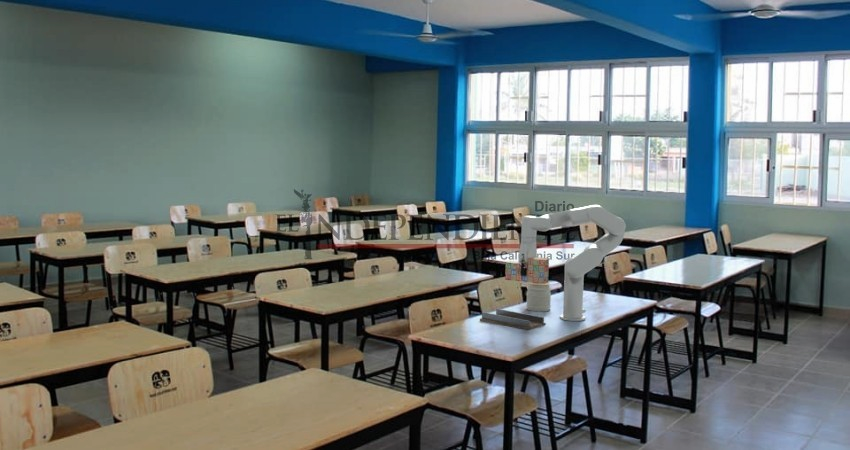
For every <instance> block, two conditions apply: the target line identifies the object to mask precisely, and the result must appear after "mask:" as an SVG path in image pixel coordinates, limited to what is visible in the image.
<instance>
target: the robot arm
mask: <svg viewBox="0 0 850 450" xmlns="http://www.w3.org/2000/svg"><path fill="white" fill-rule="evenodd" d="M591 223H593V224H595V225H596V226H598V227H599V228H601V229H603V230H605V231H606V233H605V234H603V236H600V238H599V239H597V240H595V241H594V242H593V243H591V244H589V245H588V246H586V247H585V248H584V249H583V251H582V252H581V253H579V254H578V255H576V256H570V257H569V258H567V259H566V260H565V263H564V281H563V282H564V284H563V285H564V286H563V308H562V309H563V311H562V314H560V315H559V319H560V320H563V321H569V322H570V321H571V322H580V321H582V322H583V321H586V316H584V313H586V312H587V311H586V309H585V308H583V307H584V301H583V300H584V280H585V279H584V278H585V275H586V274H587V273H588V272H590V271H591V270H593V269H595V268H596V267H597V266H599V265H600V264H601V263H602V261H603V259H604V258H605V257H606V256H607V255H608V254H610V253H612V252H613V251H614V250H615V249H616V248H619V245H621V243H623V242H622V241H623V240H624V238H625V237H624V236H625V231H626V227H627V225H626V222H625V221H624V219H623V218H621V217H620V216H617V215H615V214H613V213H611V212H610V211H608V210H607V209H605V208H604V207H603V206H601V205H599V204H591V205H587V206H583V207H577V208H571V209H567V210H564V211H559V212H553V213H552V212H551V213H548V214H543V215H541V216H534V215H524V216H522V218H521V237H520V238H521V239H520V240H521V241H520V246H519V251H518V261H517V262H519V265H520V268H521V276H526V275H527V268H526V266H527V263H529V258H535V257H538V256H537V255H538V254H537V253H538V250H537V231H539V232H547V231H549V230H550V229H554V228H559V227H576V226H582V225H587V224H591ZM523 260H524V261H525V262H523ZM523 263H524V264H525V265H524V264H523Z"/></svg>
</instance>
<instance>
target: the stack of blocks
mask: <svg viewBox="0 0 850 450" xmlns="http://www.w3.org/2000/svg"><path fill="white" fill-rule="evenodd" d="M523 262H525V261H524V260H523ZM523 264H524V263H523ZM524 265H525V264H524ZM504 267H505V270H504V271H505V272H504V273H505V277H504V280H506V281H512V282H523V283H529V282H532V283H540V284H545V283H547V282H548V283H549V269H550V259H549V258H545V257H540V256H539V257H538V256H537V257H535V258H529V263H527V266H526V268H527V275H526V276H521V268H520V265H519V262H518V261H516V260H513V261H512V260H508V261H506V262H505V266H504Z"/></svg>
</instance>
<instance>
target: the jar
mask: <svg viewBox="0 0 850 450" xmlns="http://www.w3.org/2000/svg"><path fill="white" fill-rule="evenodd" d="M550 285H551V284H550V282H549V281H548V282H547V283H545V284H540V283H532V282H528V285H527V286H526V289H527V292H526V304H525V305H526V306H525V307H526V310H528V311H531V310H532V312H548V311H550V310H551V308H552V307H551V306H552V305H551V303H552V302H551V301H552V299H551V296H552V293H551V290H552V287H551V286H550Z"/></svg>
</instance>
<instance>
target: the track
mask: <svg viewBox="0 0 850 450" xmlns="http://www.w3.org/2000/svg"><path fill="white" fill-rule="evenodd" d="M479 321H480V322H484V323H485V322H486V323H491V324H496V325H500V326H503V327H504V326H506V327H509V328H516V329H519V330H525V331H529V330H533V329H535V328H539V327H543V326H546V324H547V323H546V322H545V316H539V315H533V314H528V313H524V312H519V311H518V312H517V311H512V310H508V309H502V308H496V310H495V313H491V312H487V311H486V312H485V311H482V312H481V318H479Z"/></svg>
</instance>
